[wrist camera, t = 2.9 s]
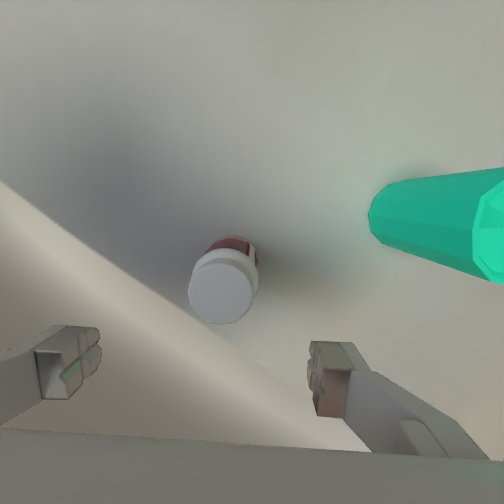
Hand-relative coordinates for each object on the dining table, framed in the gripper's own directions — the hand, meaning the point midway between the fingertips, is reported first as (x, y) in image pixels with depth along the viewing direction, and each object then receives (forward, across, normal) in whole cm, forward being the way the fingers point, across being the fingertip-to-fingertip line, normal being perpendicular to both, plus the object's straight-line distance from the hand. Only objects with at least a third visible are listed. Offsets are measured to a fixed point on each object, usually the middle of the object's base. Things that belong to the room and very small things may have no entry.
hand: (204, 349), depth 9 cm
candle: (+14, -15, -5) cm, 21 cm away
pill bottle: (+14, 0, 0) cm, 14 cm away
